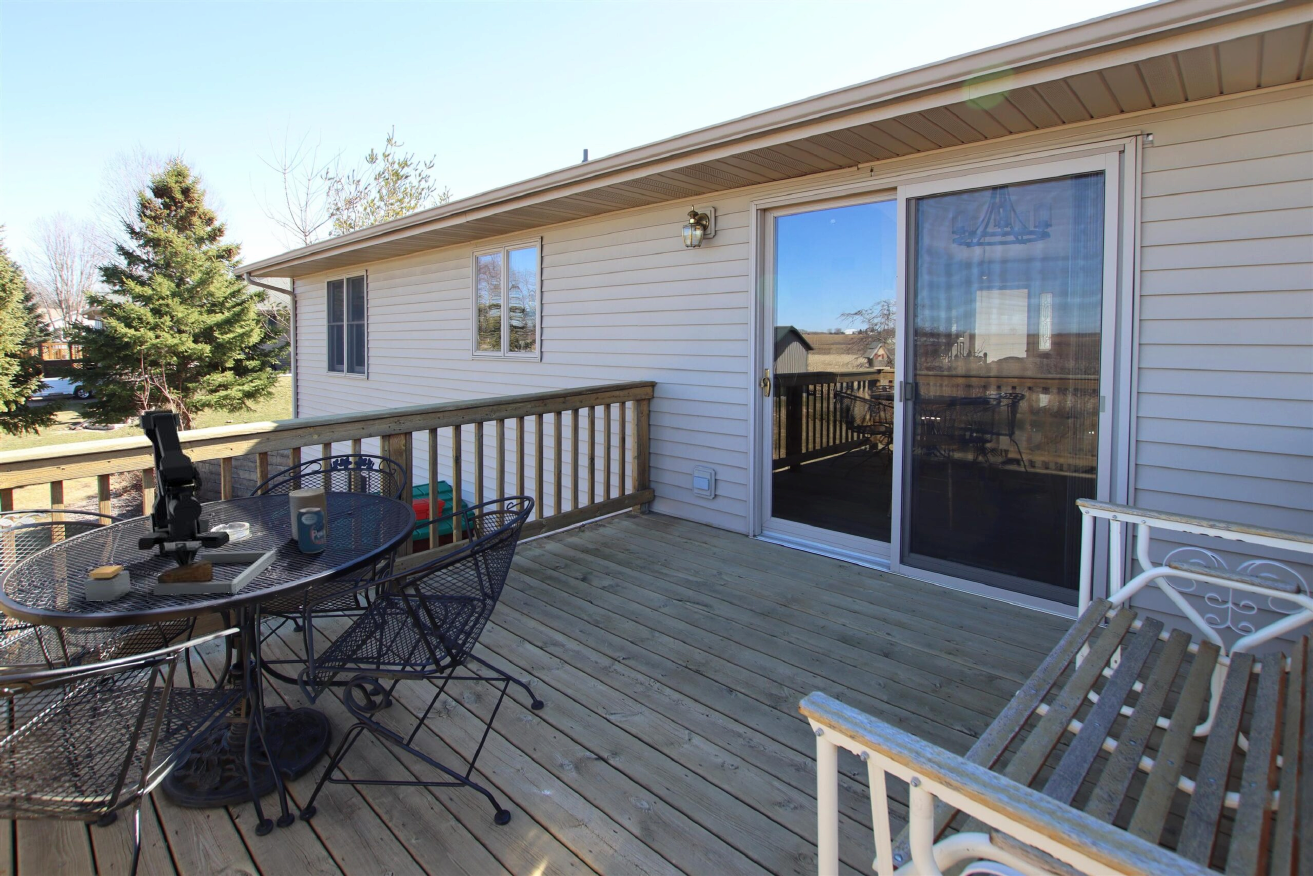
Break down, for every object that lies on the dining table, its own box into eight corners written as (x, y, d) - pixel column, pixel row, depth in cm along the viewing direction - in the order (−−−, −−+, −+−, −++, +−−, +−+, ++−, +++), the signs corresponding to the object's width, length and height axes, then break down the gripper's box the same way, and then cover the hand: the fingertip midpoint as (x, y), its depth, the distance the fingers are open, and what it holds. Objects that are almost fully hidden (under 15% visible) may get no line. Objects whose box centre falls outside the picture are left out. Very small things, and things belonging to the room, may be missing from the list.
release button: (104, 587, 163) (101, 566, 162) (124, 586, 164) (122, 565, 163) (91, 594, 159) (89, 573, 158) (112, 593, 160) (110, 572, 159)
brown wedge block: (205, 576, 175) (203, 559, 174) (213, 579, 173) (212, 562, 172) (158, 590, 166) (156, 571, 165) (166, 593, 164) (164, 575, 163)
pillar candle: (335, 532, 212) (331, 484, 209) (316, 542, 202) (312, 492, 200) (305, 531, 213) (301, 483, 210) (285, 540, 203) (280, 491, 201)
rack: (204, 561, 185) (203, 552, 185) (276, 559, 188) (275, 550, 187) (154, 596, 162) (152, 586, 162) (236, 593, 165) (235, 583, 164)
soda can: (318, 554, 192) (316, 512, 190) (294, 553, 192) (290, 512, 190) (330, 546, 199) (328, 505, 197) (307, 545, 199) (304, 505, 197)
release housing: (103, 591, 164) (100, 571, 163) (131, 590, 165) (128, 571, 164) (86, 602, 158) (83, 581, 157) (115, 601, 159) (112, 580, 158)
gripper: (237, 503, 180) (241, 561, 183) (159, 505, 178) (165, 563, 180) (216, 515, 169) (221, 576, 172) (132, 517, 167) (139, 579, 169)
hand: (187, 573), depth 174 cm, fingers closed
